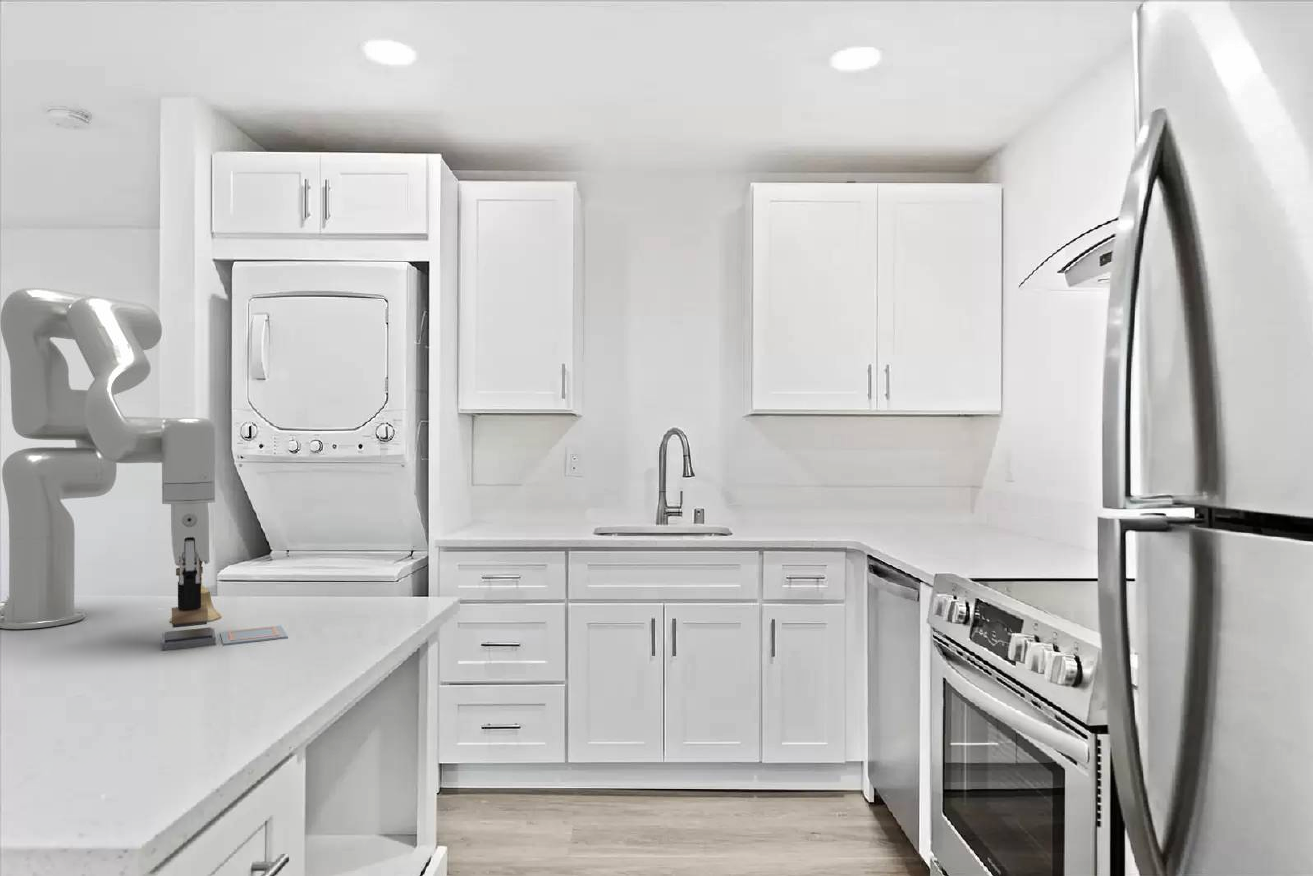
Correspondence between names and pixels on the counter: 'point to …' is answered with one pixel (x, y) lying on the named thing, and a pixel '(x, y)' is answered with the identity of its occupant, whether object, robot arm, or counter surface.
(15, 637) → the counter surface
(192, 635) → the ink pad
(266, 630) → the card
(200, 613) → the stamp
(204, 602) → the hand bell
